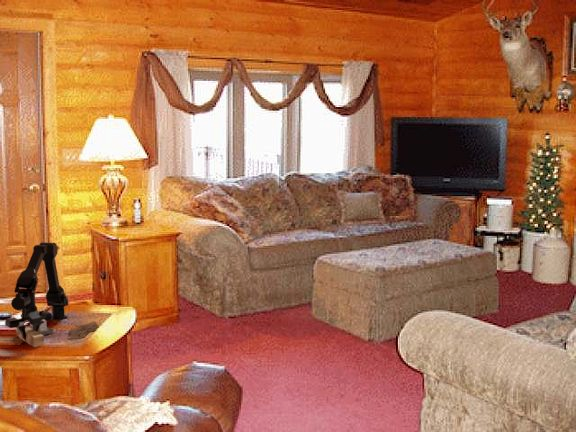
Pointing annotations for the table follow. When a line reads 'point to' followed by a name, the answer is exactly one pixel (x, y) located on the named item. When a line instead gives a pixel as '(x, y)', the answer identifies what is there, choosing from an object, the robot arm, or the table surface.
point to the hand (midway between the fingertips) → (29, 338)
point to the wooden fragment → (82, 331)
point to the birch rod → (31, 337)
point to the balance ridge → (43, 328)
